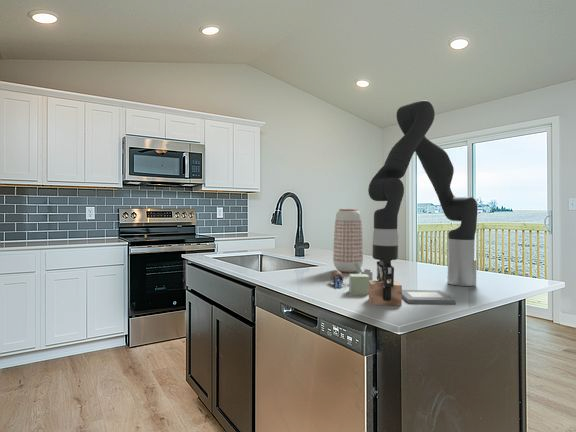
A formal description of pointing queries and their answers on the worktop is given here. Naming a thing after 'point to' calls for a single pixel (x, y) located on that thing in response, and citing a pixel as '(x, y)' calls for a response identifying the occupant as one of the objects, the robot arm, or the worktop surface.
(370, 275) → the lighter
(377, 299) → the base block
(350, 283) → the top block
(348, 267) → the patterned vase
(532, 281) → the worktop surface
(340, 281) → the figurine
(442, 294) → the baseplate
